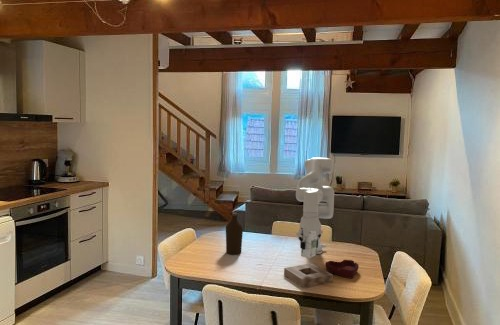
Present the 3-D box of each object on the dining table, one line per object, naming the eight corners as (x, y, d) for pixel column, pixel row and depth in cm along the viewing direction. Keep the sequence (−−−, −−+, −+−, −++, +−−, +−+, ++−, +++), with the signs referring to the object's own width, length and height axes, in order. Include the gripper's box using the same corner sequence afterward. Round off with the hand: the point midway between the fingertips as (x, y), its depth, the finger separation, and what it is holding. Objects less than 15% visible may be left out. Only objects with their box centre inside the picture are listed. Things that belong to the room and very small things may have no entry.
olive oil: (232, 256, 236) (232, 215, 233) (221, 251, 244) (222, 212, 241) (245, 253, 242) (246, 213, 240) (235, 248, 251) (236, 210, 248)
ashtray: (336, 281, 203) (337, 271, 203) (322, 269, 219) (322, 261, 218) (366, 278, 208) (367, 269, 208) (350, 267, 224) (351, 258, 223)
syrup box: (306, 253, 207) (307, 227, 206) (316, 256, 204) (317, 229, 202) (300, 256, 203) (302, 229, 202) (310, 259, 199) (311, 231, 198)
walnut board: (311, 270, 217) (311, 263, 216) (332, 282, 201) (332, 274, 201) (284, 275, 209) (284, 267, 208) (303, 288, 193) (303, 280, 192)
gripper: (319, 211, 209) (318, 244, 210) (292, 214, 201) (291, 247, 202) (328, 214, 202) (326, 248, 204) (300, 217, 194) (299, 252, 196)
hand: (309, 247), depth 203 cm, fingers closed on syrup box, 7 cm apart
